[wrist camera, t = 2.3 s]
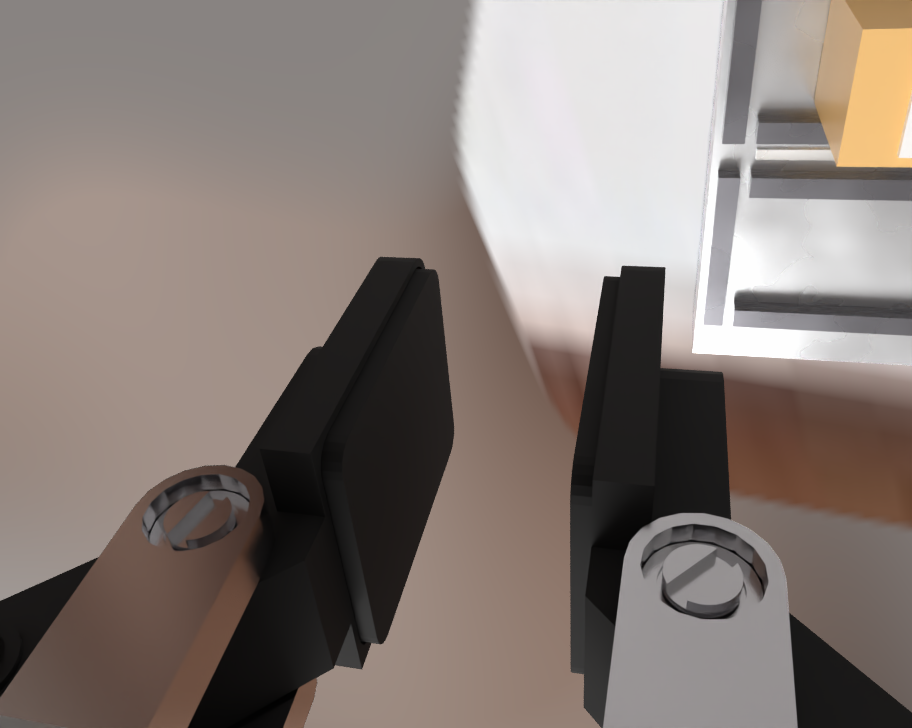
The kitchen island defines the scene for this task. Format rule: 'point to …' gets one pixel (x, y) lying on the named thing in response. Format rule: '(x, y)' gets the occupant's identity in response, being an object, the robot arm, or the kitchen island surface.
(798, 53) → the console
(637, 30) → the kitchen island surface
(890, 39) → the fader
